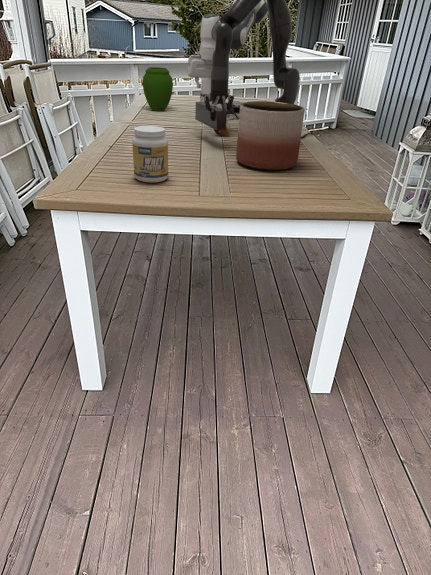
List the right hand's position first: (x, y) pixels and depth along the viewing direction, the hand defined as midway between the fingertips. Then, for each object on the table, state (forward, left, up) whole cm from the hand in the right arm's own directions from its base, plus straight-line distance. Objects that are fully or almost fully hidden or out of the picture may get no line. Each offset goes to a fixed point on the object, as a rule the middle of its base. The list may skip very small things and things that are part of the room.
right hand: (218, 120), depth 183 cm
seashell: (-14, -22, -12) cm, 29 cm away
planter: (-8, +30, -12) cm, 33 cm away
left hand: (-6, -24, +10) cm, 27 cm away
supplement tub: (+44, +34, -12) cm, 57 cm away
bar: (0, -9, -3) cm, 10 cm away
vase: (-8, -101, -12) cm, 102 cm away
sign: (-65, -95, -12) cm, 116 cm away
